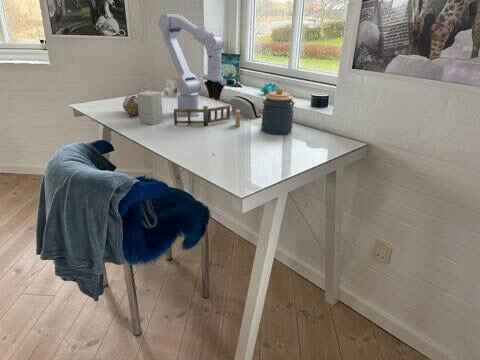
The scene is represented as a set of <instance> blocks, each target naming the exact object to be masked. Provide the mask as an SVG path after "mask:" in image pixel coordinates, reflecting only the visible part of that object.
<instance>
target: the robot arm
mask: <svg viewBox="0 0 480 360" xmlns="http://www.w3.org/2000/svg"><path fill="white" fill-rule="evenodd" d="M158 26H159V29H160V31H161V33H162V39H163V41H164V44H165V46H166V48H167V51H168V53H169V55H170V59H171V61H172V63H173V65H174V68H175V70H176V73H177V74H178V77H177V79H176V84H177V89H178V90H177V91H178V92H179V94H177V109H199V97H198V96H199V94H200V92H201V89H202V83H201V82H200V80H199V79H198V77H197V76H196V74H194V72H191V70H190V68H189V66H188V63H187V60H186V58H185V56H184V53H183V51H182V49H181V47H180V44H179V42H178V39H177V38H178V37H179V35H180V34H181V32H182V29H183V30H184V31H186V32H188V33H189V34H191V35H193V39H194V40H195V41H197V42H198V43H200V44H201V45H203V47H204V49H205V50H206V55H207V74H203V75H202V80H204V82H203V83H204V86H205V87H206V90H207V93H208V97H209V99H214V101H219V100H221V95H222V91H223V89H224V88H225V86H226V85H227V79H226V78H224V77H223V76H222V50H223V49H224V47H225V40H224V38H223V37H222V36H221V35H219V34H218V35H217V34H216V35H215V34H214V32H213V31H212V32H210V31H209V30H208V29H207V28H206V26H198V27H197V26H196V25H195V24H194V23H192V22H190V20H188V19H187V18H185V16H184V15H182V14H181V13H162V14H160V16H159V20H158ZM205 80H206V81H205ZM199 115H200V112H190V117H192V116H193V117H194V116H195V117H198V116H199ZM178 116H179V117H180V116H181V117H183V116H184V117H188V112H177V117H178Z"/></svg>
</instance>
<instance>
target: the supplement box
mask: <svg viewBox="0 0 480 360" xmlns="http://www.w3.org/2000/svg"><path fill="white" fill-rule="evenodd" d="M136 97H137V100H138V110H139V115H138V118H139V123H140V124H145V125H150V126H155V125H157V124H160V123H162V122H164V114H163V102H162V101H163V100H162V92H160V91H153V90H145V91H141V92H139V93H136Z"/></svg>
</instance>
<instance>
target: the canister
mask: <svg viewBox="0 0 480 360" xmlns="http://www.w3.org/2000/svg"><path fill="white" fill-rule="evenodd" d="M264 98H265V99H263V100H262V105H263V108H261V111H262V114H261V125H260V127H261V131H262V132H264V133H266V134H269V135H276V136H280V135H287V134H291V132H292V130H293V119H294V112H295V111H294V106H295V104H296V102H295V101H294V100H293V99H294V96H293V95H292V94H290V93H289V92H286V91H284V90H283V88H282V87H277V88H276V91H275V90H274V91H269V92H267V94H265V95H264Z"/></svg>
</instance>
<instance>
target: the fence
mask: <svg viewBox="0 0 480 360" xmlns="http://www.w3.org/2000/svg"><path fill="white" fill-rule="evenodd" d="M178 112H188V116H187V120H178ZM190 112H199V113H203V112H204V110H203V108H201V109H200V108H198V109H178V108H173V118H174V126H178V124H181V125H183V124H184V125H185V124H187V126H189V125H190V126H191V125H196V124H197V125H201V124H203V125H204V120H191V116H190Z"/></svg>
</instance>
